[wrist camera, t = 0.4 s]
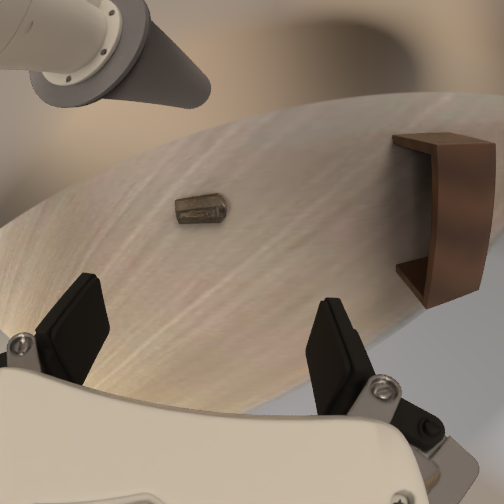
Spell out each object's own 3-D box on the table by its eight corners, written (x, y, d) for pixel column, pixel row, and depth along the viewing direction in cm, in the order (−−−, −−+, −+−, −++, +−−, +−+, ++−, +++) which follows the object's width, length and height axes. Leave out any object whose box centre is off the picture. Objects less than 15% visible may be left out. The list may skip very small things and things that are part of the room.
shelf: (392, 134, 29) (436, 144, 21) (448, 132, 29) (495, 143, 20) (395, 271, 38) (425, 309, 30) (445, 257, 38) (478, 289, 29)
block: (176, 197, 33) (172, 201, 31) (225, 191, 33) (224, 195, 31) (180, 224, 34) (177, 230, 33) (228, 220, 34) (227, 225, 33)
